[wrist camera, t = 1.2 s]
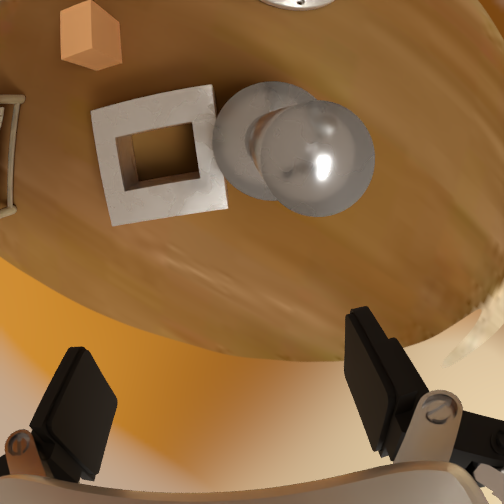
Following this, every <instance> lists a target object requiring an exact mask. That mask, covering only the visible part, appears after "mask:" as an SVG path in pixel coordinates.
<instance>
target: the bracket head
mask: <svg viewBox="0 0 504 504" xmlns="http://www.w3.org/2000/svg"><path fill="white" fill-rule="evenodd" d="M91 118H92V125H93V132H94V138H95V145H96V151H97V156H98V162H99V167H100V172H101V178H102V183H103V187H104V192H105V197H106V201H107V206H108V210H109V214H110V219H111V223H112V226H117V225H123V224H129V223H135V222H141V221H147V220H153V219H159V218H166V217H172V216H178V215H185V214H192V213H199V212H206V211H213V210H220V209H227V208H228V191H227V183H226V179H227V180H228V181H229V182H230V183H231V184H232V185H233V186H234V187H235V188H237V189H238V190H240V191H241V192H243V193H245V194H247V195H249V196H251V197H254V198H257V199H262V200H271V201H276V200H278V201H279V202H280V203H281V204H283V205H284V206H285V207H287V208H288V209H290V210H292V211H294V212H296V213H299V214H302V215H306V216H313V217H324V216H329V215H333V214H337V213H339V212H341V211H343V210H345V209H347V208H349V207H350V206H351V205H353V204H354V203H355V202H356V201H357V200H358V199H359V198H360V197H361V196H362V195H363V193H364V192H365V191H366V189H367V187H368V185H369V183H370V181H371V178H372V175H373V171H374V165H375V153H374V146H373V142H372V139H371V136H370V134H369V132H368V130H367V128H366V127H365V125H364V124H363V122H362V121H361V120H360V119H359V118H358V117H357V116H356V115H355V114H354V113H353V112H351V111H350V110H348V109H347V108H345V107H343V106H341V105H339V104H336V103H333V102H329V101H321V100H316V99H315V98H314V97H313V96H312V95H311V94H309V93H308V92H307V91H305V90H303V89H301V88H300V87H297V86H295V85H292V84H288V83H284V82H262V83H257V84H254V85H251V86H249V87H246V88H244V89H242V90H241V91H239V92H237V93H236V94H235V95H234V96H233V97H231V98H230V99H229V100H228V101H227V103H226V104H225V105H224V106H223V108H222V109H221V111H220V113H219V115H217V108H216V100H215V92H214V89H213V86H212V84H210V85H203V86H197V87H191V88H185V89H180V90H174V91H169V92H164V93H159V94H155V95H150V96H146V97H141V98H137V99H133V100H129V101H125V102H121V103H117V104H114V105H110V106H106V107H103V108H99V109H96V110H93V111H91ZM190 123H192V124H193V132H194V139H195V146H196V153H197V160H198V167H199V171H197V172H190V173H184V174H178V175H172V176H166V177H161V178H155V179H150V180H145V181H139V178H138V172H137V167H136V161H135V155H134V149H133V143H132V136H131V135H134V134H138V133H143V132H148V131H152V130H157V129H162V128H167V127H173V126H178V125H184V124H190Z"/></svg>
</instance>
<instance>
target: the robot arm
mask: <svg viewBox="0 0 504 504" xmlns="http://www.w3.org/2000/svg"><path fill="white" fill-rule="evenodd" d="M260 1H262V2H264V3H266V4H268V5H271V6H275V7H278V8H282V9H288V10H302V11H303V10H312V9H317V8H320V7H324V6H326V5H328V4H330V3H332V2H333V1H335V0H260ZM297 3H301V5H299V4H297ZM344 374H345V378H346V381H347V383H348V386H349V388H350V391H351V394H352V396H353V398H354V401H355V404H356V407H357V409H358V412H359V415H360V417H361V420H362V422H363V425H364V428H365V430H366V433H367V436H368V439H369V442H370V444H371V447H372V450H373V451H374V452H375V451H379V454H380V456H381V458H382V457H385V456H388V455H389V457H390V460H391V461H393V464H390V465H385V466H379V467H375V468H372V469H367V470H362V471H358V472H353V473H349V474H345V475H341V476H336V477H332V478H327V479H322V480H316V481H311V482H306V483H299V484H293V485H288V486H281V487H273V488H265V489H256V490H245V491H232V492H214V493H164V492H145V491H132V490H122V489H113V488H104V487H97V486H91V485H85V484H80V482H79V480H80V477H81V478H82V479H84V480H89V481H94V479H95V475H96V474H98V473H99V470H100V466H101V462H102V458H103V455H104V451H105V447H106V443H107V440H108V436H109V432H110V429H111V425H112V421H113V418H114V415H115V412H116V408H117V398H116V396H115V394H114V393H113V391H112V389H111V388H110V386H109V385H108V383H107V381H106V380H105V378H104V376H103V375H102V373H101V371H100V369H99V368H98V366H97V364H96V362H95V361H94V359H93V357H92V355H91V353H90V352H89V351H88V350H86V349H85V348H84V347H70V348H69V349H68V350H67V352H66V354H65V356H64V357H63V359H62V361H61V363H60V365H59V367H58V369H57V370H56V372H55V374H54V376H53V378H52V380H51V382H50V384H49V386H48V388H47V390H46V392H45V394H44V396H43V398H42V400H41V402H40V404H39V406H38V408H37V410H36V412H35V414H34V416H33V419H32V421H31V423H30V425H29V426H30V427H31V428H32V432H31V433H30V432H29V431H28V430H25V429H22V430H18V431H15V432H14V433H12V434H11V435H10V436H9V437H8V439H7V441H6V443H5V455H3V456H1V457H0V504H489V503H488V502H487V500H486V498H485V496H484V494H483V492H482V491H481V489H480V487H485V486H486V487H487V488H489V489H490V490H492V491H493V493H492V494H493V495H495V496H496V497H498V498H499V499H500V500H501V501H502V504H504V421H502V420H498V419H494V418H490V417H486V416H482V415H478V414H475V413H470V412H467V411H463V407H462V404H461V401H460V400H459V398H458V397H457V396H456V395H454V394H453V393H451V392H448V391H445V390H435V391H431V392H429V390H428V388H427V387H426V385H425V383H424V382H423V380H422V378H421V377H420V375H419V374H418V372H417V370H416V369H415V367H414V365H413V364H412V362H411V360H410V359H409V357H408V356H407V354H406V352H405V351H404V349H403V348H402V346H401V344H400V343H399V341H398V340H397V339H396V338H390V339H388V338H387V336H386V335H385V333H384V331H383V330H382V328H381V327H380V325H379V323H378V322H377V320H376V319H375V317H374V315H373V314H372V312H371V311H370V309H369V308H368V307H367V306H364V307H359V308H355V309H351V311H350V314H347V315H346V317H345V357H344Z"/></svg>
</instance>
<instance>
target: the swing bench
mask: <svg viewBox="0 0 504 504" xmlns="http://www.w3.org/2000/svg"><path fill="white" fill-rule="evenodd" d="M24 101H25V96H24V95H0V104H14V109H13V116H12V124H11V132H10V143H9V154H8V179H7V207H5V208H2V209H0V218H3V217H6V216H9V215H12V214H14V213H16V210H17V209H16V206H14V205H13V164H14V150H15V138H16V129H17V121H18V113H19V106H20V104H22V103H23V102H24ZM3 114H4V107H0V128H1V125H2V120H3Z"/></svg>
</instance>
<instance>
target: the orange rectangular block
mask: <svg viewBox="0 0 504 504" xmlns="http://www.w3.org/2000/svg"><path fill="white" fill-rule="evenodd" d="M60 38H61V60H64V61H67V62H71V63H74V64H77V65H80V66H83V67H86V68H89V69H92V70H95V71H98V70H101V69H104V68H108V67H111V66H114V65H118V64H121V63H122V51H121V38H120V23H119V22H118V21H117V20H116V19H115V18H113V17H112V16H111V15H110V14H109V13H107V12H106V11H105V10H104V9H102V8H101V7H100V6H99V5H97V4H96V3H95V2H94V1H92V0H87V1H85V2H82V3H79V4H77V5H74V6H72V7H69V8H67V9H65V10H62V11H60Z"/></svg>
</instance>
